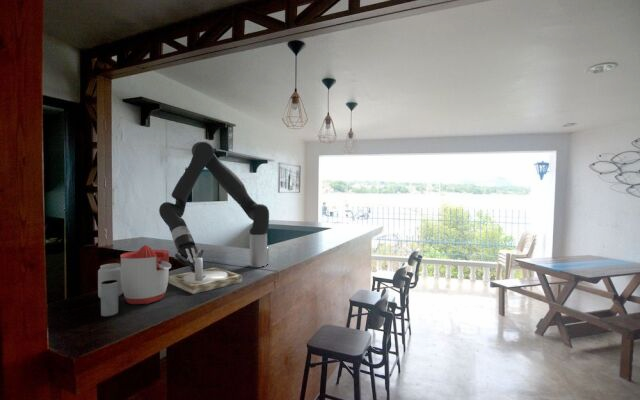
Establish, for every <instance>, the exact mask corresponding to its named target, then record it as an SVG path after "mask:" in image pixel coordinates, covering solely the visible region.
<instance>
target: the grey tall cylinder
mask: <svg viewBox="0 0 640 400" xmlns="http://www.w3.org/2000/svg"><path fill="white" fill-rule="evenodd" d="M118 313H119V297H118V280H107V281H103V282H101V298H100V315H101V317H111V316H115V315H116V314H118Z"/></svg>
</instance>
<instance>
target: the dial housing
mask: <svg viewBox="0 0 640 400" xmlns="http://www.w3.org/2000/svg"><path fill="white" fill-rule="evenodd" d="M203 271H223V272H226V273H227V278H223V279H218V280H214V281H209V282H205V283H200V284H192V283H190V282H188V281H185V280H183V277H184V276H185V275H187V274H190V273H193V272H192V271H190V272H183V273H177V274H172V275H169V278H168V284H170V285H172V286H174V287H177V288H179V289H180V290H183V291H185V292H187V293H190V294H192V295H196V294H200V293H202V292H208V291H211V290H215V289H218V288H219V289H220V288H224V287H228V286H232V285H236V284H241V283H242V282H243V275H242V274H241V273H240V274H239V273H235V272H232V271H229V270H226V269H222V268H220V267H216V266H215V267H210V268H209V267H208V268H205V269H203Z"/></svg>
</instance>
